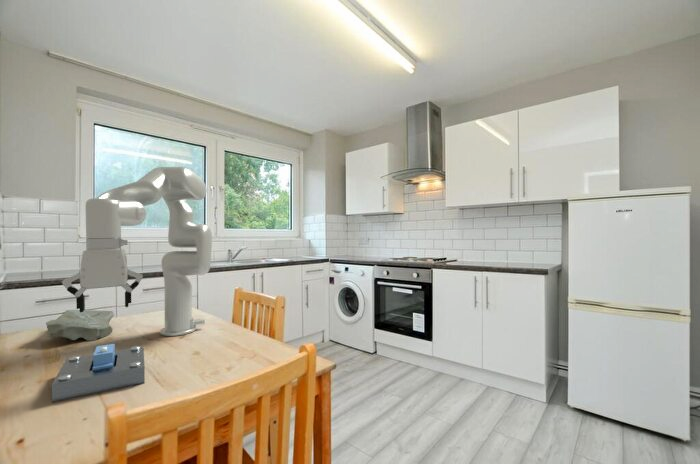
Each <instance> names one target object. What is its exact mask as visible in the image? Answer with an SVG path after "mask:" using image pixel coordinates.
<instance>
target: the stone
mask: <svg viewBox="0 0 700 464" xmlns="http://www.w3.org/2000/svg"><path fill="white" fill-rule="evenodd" d="M114 317H115V314H114V311H113V310H92V309H91V310H84V311H83V312H80V309H67V310H65V311H64V312H62V314H61V315H60V316H59V317H58V318H55V319H50V320H47V322H45V325H46V329H47V333H48V335H49V336H55V337H60V338H64V339H65V338H67V339H69V340H71V341H76V340H77V339H79V338H83V339H85V340H86V341H87V342H90V341H91V342H92V341H96V340H97V339H102V338H105V337H107V336H108V335H110V334H112V333H113V328H112V326H111V325H110V322H111V321H112V318H114Z"/></svg>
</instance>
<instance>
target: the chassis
mask: <svg viewBox="0 0 700 464" xmlns="http://www.w3.org/2000/svg"><path fill="white" fill-rule="evenodd" d="M144 349H145V348H144V345H143V346H140V345H137V346H136V345H135V346H132V347H130V348H125V349H118V350H115V366H114V367H110V369H109V371H105V372H100V373H95V370H93V355H94V353H93V354H87V355H74V356H69V358H66V359H65V360H64V362H63V363H62V366H61V368H60V369H59V371H58V373H57V374H56V376H55V378H54V380H53V382H52V383H51V403H56V402H61V401H62V402H63V401H65V400H66V401H68V400H71V399H76V398H81V397H85V396H90V395H95V394H101V393H104V392H109V391H113V390H118V389H123V388H128V387H132V386H137V385H141V384H146V383H145V381H146V380H145V370H146V369H145V352H144V351H145V350H144Z"/></svg>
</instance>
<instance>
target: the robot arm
mask: <svg viewBox="0 0 700 464" xmlns="http://www.w3.org/2000/svg"><path fill="white" fill-rule="evenodd" d="M207 191H208V189H207V185H206V183H205V181H204V180H203V179H202V178H201V177H200V176H199V175H198V174H196V173H195V172H194V171H193V170H191V169H189V168H186V167H183V166H158V167H155V168H153V169H151V170H150V171H149V172H147V173H146V174H145V175H143V176H142V177H140V179H138V180H136V181H134V182H130V183H128V184H124V185H121V186H117V187H115V188H112V189H109V190H107V191H104V192H102V193H100V195H98V196H97V197H95V198H94V197H93V198H89V199H87V200H86V203H85V249H86V250H83V251H82V254H81V260H80V267H79V268H80V269H79V272H78V273H76V274H73V275H71V276H69V277H67V278H64V279H63V280H62V281H61V284H62V285H63V286H64V288H65V289H66V292H69V293H70V294H71V295H73V296H74V297H75V298H76V299H75V300H76V310H80V312H83V311H86V310H85V309H86V303H85V301H86V299H85V298H86V297H85V294H84V292H86V290H90V289H92V290H93V289H104V288H105V289H107V288H116V287H117V288H118V287H121V288H123V289H124V290H125V292H124V308H129V304H132V292H133V291H134V289H136V288H137V287H139V285H140V283H141V281H142V279H143V278H144V276H143V274H142V273H140V272H139V273H138V272H136V271H133V270H131V269H128V260H127V259H128V258H127V254H126V250H125V248H122V247H123V246H128V240H127V239H123V238H122V227H134V226H138V225H139V226H140V225H141V224H142V223H143V222H144V221H145V220H146V217H147V209H146V207H145V206H149V205H154V204H156V203H157V202H159V200H160V199H163V201H164V202H165V204H166V206H167V208H168V212H169V222H168V237H167V240H168V244H169V245H170V246H171V247H172V248H187V249H188V248H193V249H194V248H195V249H196V250H192V251H191V250H175V251H174V250H172V251H170V252H167V253H165V254H164V255H163V256H162V258H161V269H162V274H163V283H164V327H163V328H161V329H160V330H159V334H160V335H162V336H164V337H172V336H173V337H177V336H184V335H188V334H190V333H193V332H195V331H196V330H197V325H205V323H206V321H205V318H196V319H194V318H193V315H192V313H193V309H192V308H193V305H192V302H193V298H192V297H193V295H192V294H193V293H192V292H193V290H192V289H193V287H192V283H191V281H190V279H189V278H188V277H187V276H204V275H207V274H208V273H209V272H210V269H211V264H212V263H211V261H212V247H213V246H212V245H213V244H212V243H213V235H212V234H213V233H212V231H211V228H210V226H208V225H207V224H203V223H194V211H193V209H192V207H191V206H190V205H189V204H188V202H187V201H200V200H203V199H204V198H205V197H206V195H207ZM129 276H130V277H133V278H135V280H134V281H133V282H132V283H131V284H129V283H128V280H129ZM76 280H79V284H80V288H79V289H78V288H76V286H75V287H74V286H73V285H72V283H73V282H74V281H76Z"/></svg>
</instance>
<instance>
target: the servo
mask: <svg viewBox="0 0 700 464" xmlns="http://www.w3.org/2000/svg"><path fill="white" fill-rule="evenodd" d="M115 349H116V346H115V343H110V344H104V345H102V344H101V345H97V346H96V348H95V349H94V352H93V354H94V355H93V370H95V373H100V372H105V371H109V369H110V367H114V366H115V351H116V350H115Z"/></svg>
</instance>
